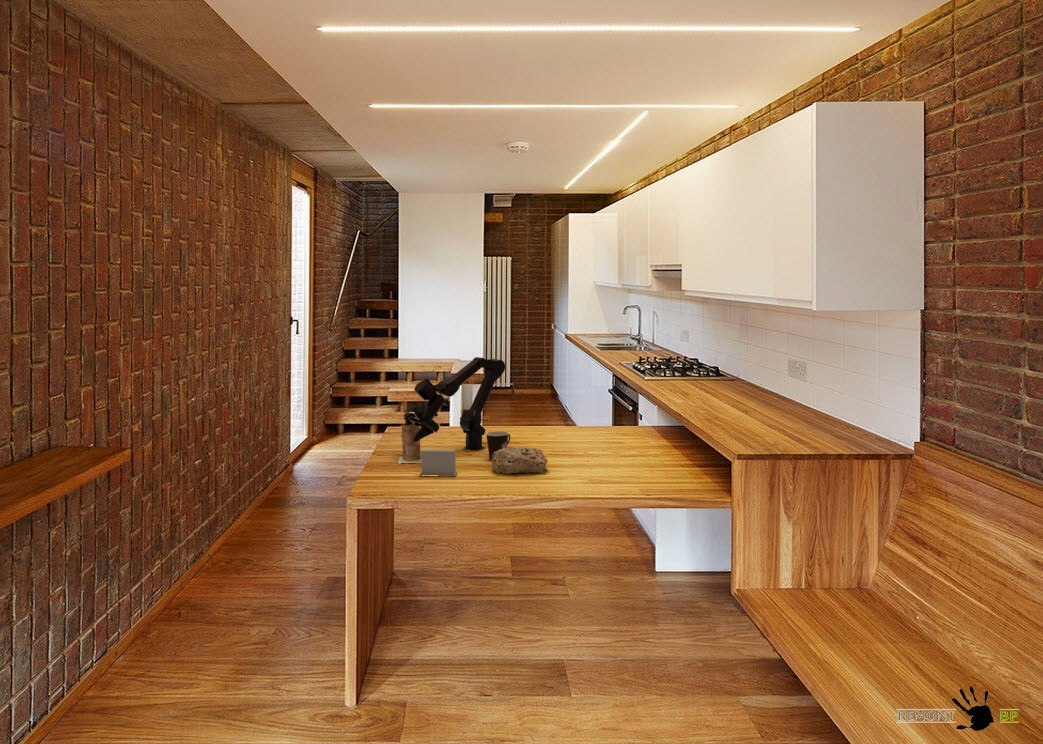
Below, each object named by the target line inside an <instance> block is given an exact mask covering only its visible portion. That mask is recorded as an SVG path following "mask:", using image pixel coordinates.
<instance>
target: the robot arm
mask: <svg viewBox="0 0 1043 744" xmlns="http://www.w3.org/2000/svg"><path fill="white" fill-rule="evenodd" d="M481 369H483V379H482V380H481V383H480V386H479V387H478V390H477V393H476V395H475V397H474V400H473V402H472V404H471V406H470V408H469V409H468V410H463V412H462V414H461V416H460V417H459V427H460V428H461V429H462V432H463V433H464V434H465V446H464V447H463V449H464V448H465V449H464V450H468V449H469V450H468V451H472V450H476V451H478V450H479V449H480V450H483V449H485V448H486V447H485V446H483V436H485V435H486V434H485V433H486V428H484V427H483V425H481V424H482V422H483V421H482V417H483V416H482V412H483V411H484V407H485V406H486V403H487V401H488V399H489V397H490V394H491V393H492V390H493V387H494V385H495V383H496V381H497V380H499V378H501V377H502V376H503V373H504V372H505V371H506V363H505V361H504V360H502V359H496V358H489V359H487V358H484V357H480V356H479V357H478V356H475V357H473V359H472V360H470V361H469V362H468V363H467V364H466V365H465V366H464V367H462V368H461V369H459V370H458V371H457V372H455V374H453V375H451V376H449V377H446V378H444V379H441V380H440V381H438V383H437V384H433V383H432V382H431V381H430V379H429V378H427V377H426V378H424V379H423V380H420V382H418V383H416V385H415V387H414V390H413V391H415V394H416V393H417V394H418V396H419V397H420V398H421V399H422V400H423V401H426V403H425V404H423V403H420V402H419V403H417V404H416V403H412V402H408V405H407V407H406V412H405V413H404V414H403V419H404V422H405V423H404V426H407V425H416V426H419V425H420V426H419V427H420V430H419V431H418V433H417V434H416V436H415V438H414V440H413V441H414V442H417V441H418V440H420V441H421V440H422V439H424V438H425V437H428V436H430V435H433V434H435V433H437V432H438V431H439V430H440V425H439V424H438V423H437V422H436V421H435V420H434V418H435V417H436V418H437V417H438V416H439V414H438V412H439V411H440V410H441V408H442V407H443V406H447V407H449V406H450V402H449V398H445V397H454V396H455V395H456V393H457V392H458V391H459V390H460V387H461V385H463V383H465V382H466V381H467V380H468V379H470V378H471V377H472V376H474V375H475V374H476V373H477V372H478V371H479V370H481ZM444 396H445V397H444ZM400 436H401V438H402V434H401V435H400Z"/></svg>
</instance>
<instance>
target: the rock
mask: <svg viewBox="0 0 1043 744" xmlns="http://www.w3.org/2000/svg"><path fill="white" fill-rule="evenodd" d="M547 464H548V459H547V457H546V456H545V454H544V452H543V451H542V450H541V449H538V448H535V447H532V448H531V447H523V446H516V447H514V446H507V448H503V449H500V450H498V451H496V452H494V454H493V455H492V460H491V470H492V471H494V472H495V471H496V472H495V473H497V474H501V473H500V472H502V474H503V473H506V475H508V474H509V475H511V474H512V473H514V474H516V473H522V474H529V473H534V474H535V473H537V474H538V473H539V474H542V473H543V472H544V471H545V469H546V466H547Z"/></svg>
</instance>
